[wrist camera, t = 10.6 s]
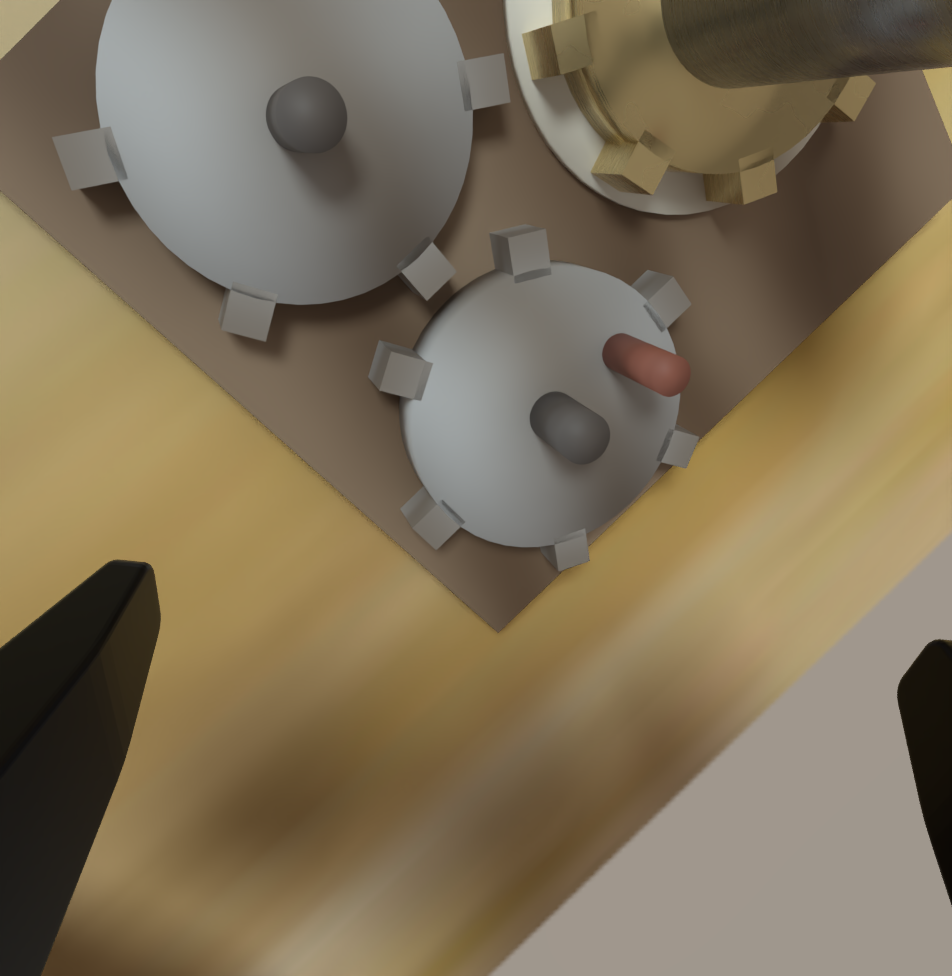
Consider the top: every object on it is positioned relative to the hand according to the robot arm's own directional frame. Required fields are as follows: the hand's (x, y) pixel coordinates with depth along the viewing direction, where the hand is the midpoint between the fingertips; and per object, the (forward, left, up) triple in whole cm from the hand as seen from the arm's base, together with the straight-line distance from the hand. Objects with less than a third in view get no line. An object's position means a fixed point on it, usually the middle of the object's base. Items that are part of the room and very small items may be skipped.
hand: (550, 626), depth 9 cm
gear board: (+7, 0, -13) cm, 14 cm away
